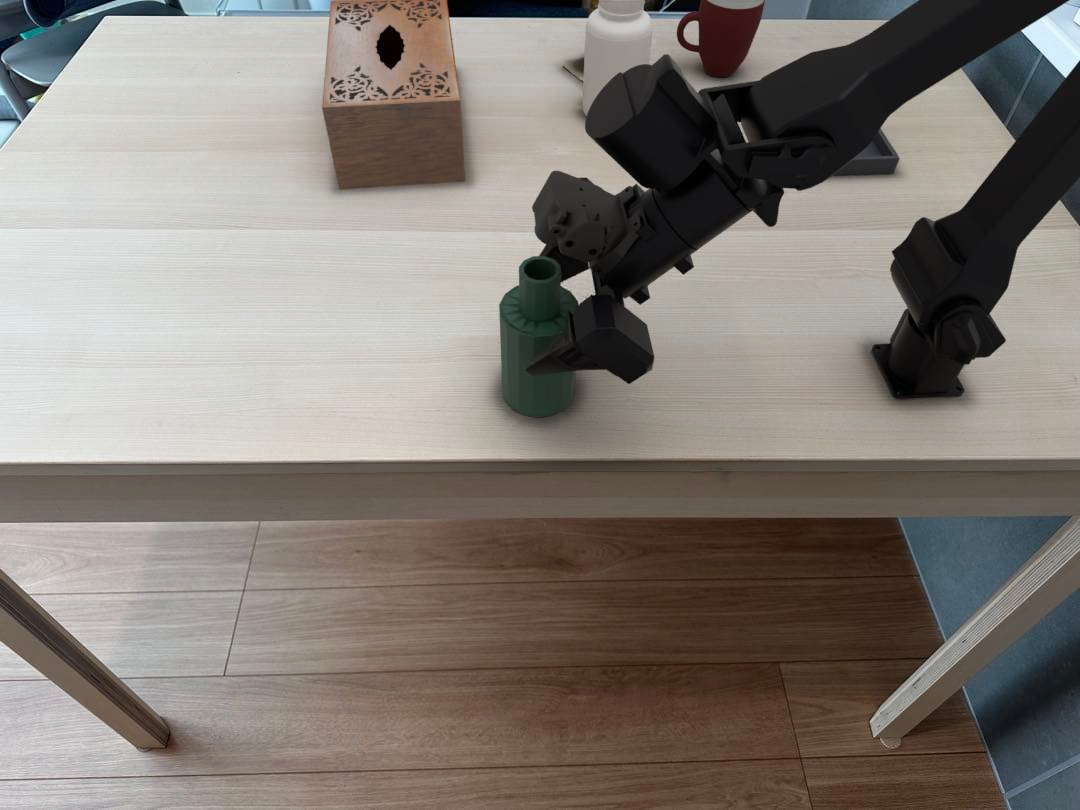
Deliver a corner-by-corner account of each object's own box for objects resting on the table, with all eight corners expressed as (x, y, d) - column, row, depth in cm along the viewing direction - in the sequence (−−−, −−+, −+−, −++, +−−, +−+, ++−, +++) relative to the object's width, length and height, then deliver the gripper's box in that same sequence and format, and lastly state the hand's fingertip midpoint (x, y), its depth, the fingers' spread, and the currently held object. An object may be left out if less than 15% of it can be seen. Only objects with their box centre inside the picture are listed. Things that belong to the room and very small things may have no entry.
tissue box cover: (344, 77, 107) (330, 0, 99) (451, 71, 108) (446, -5, 101) (339, 189, 91) (322, 107, 83) (465, 181, 92) (460, 100, 84)
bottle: (576, 415, 70) (586, 295, 59) (503, 419, 69) (499, 299, 58) (569, 362, 74) (577, 241, 63) (500, 365, 73) (496, 244, 63)
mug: (674, 84, 107) (686, 8, 99) (669, 55, 112) (680, -19, 105) (753, 86, 107) (770, 10, 99) (744, 57, 112) (760, -18, 105)
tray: (893, 173, 94) (900, 158, 93) (784, 177, 93) (789, 161, 92) (847, 98, 105) (852, 83, 104) (749, 101, 104) (752, 86, 103)
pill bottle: (605, 89, 106) (615, -31, 94) (655, 109, 103) (671, -12, 91) (568, 112, 102) (574, -10, 90) (619, 135, 99) (631, 11, 87)
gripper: (589, 79, 59) (450, 207, 67) (625, 236, 47) (450, 370, 55) (677, 169, 66) (541, 276, 73) (728, 327, 54) (559, 435, 61)
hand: (524, 331), depth 66 cm, fingers open, 9 cm apart
